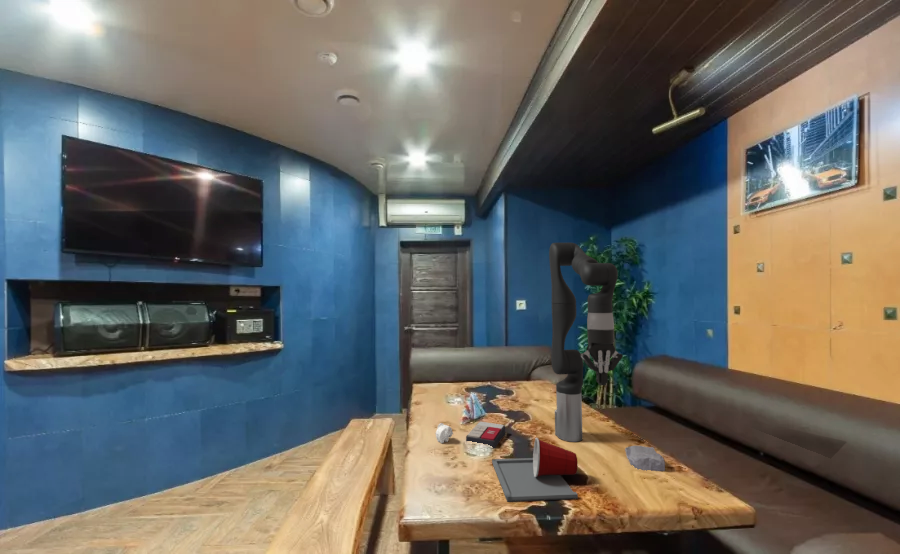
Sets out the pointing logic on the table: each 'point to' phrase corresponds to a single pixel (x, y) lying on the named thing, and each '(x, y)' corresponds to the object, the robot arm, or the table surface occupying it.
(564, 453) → the plastic cup
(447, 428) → the elephant figurine
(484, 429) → the grey and red box
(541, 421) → the table surface
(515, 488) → the grey tray
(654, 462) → the stone block
